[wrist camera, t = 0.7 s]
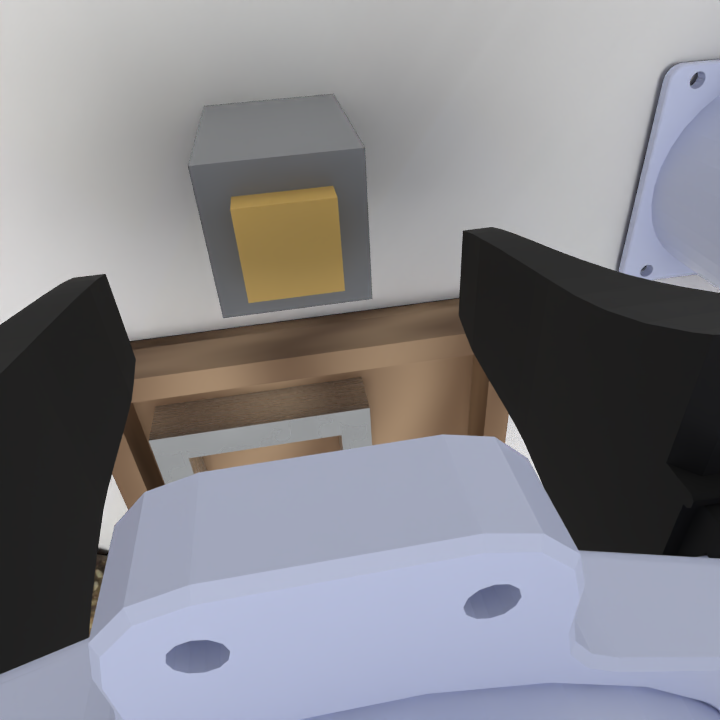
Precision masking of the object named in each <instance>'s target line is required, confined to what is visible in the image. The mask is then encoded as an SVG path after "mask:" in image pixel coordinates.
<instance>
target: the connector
mask: <svg viewBox="0 0 720 720" xmlns="http://www.w3.org/2000/svg"><path fill="white" fill-rule="evenodd" d="M188 168H189V172H190V177H191V181H192V185H193V190H194V194H195V198H196V203H197V207H198V211H199V215H200V220H201V224H202V228H203V233H204V237H205V241H206V246H207V250H208V254H209V259H210V263H211V267H212V272H213V276H214V280H215V285H216V289H217V293H218V297H219V302H220V306H221V310H222V315H223V318H228V317H236V316H243V315H251V314H259V313H267V312H274V311H282V310H290V309H297V308H305V307H313V306H321V305H328V304H336V303H344V302H351V301H359V300H367V299H372V283H371V263H370V243H369V222H368V202H367V182H366V161H365V147H364V145H363V144H362V142H361V140H360V138H359V137H358V135H357V133H356V132H355V130H354V128H353V127H352V125H351V123H350V121H349V120H348V118H347V116H346V115H345V113H344V111H343V110H342V108H341V106H340V104H339V103H338V101H337V99H336V98H335V96H334V94H326V95H316V96H305V97H294V98H284V99H273V100H263V101H252V102H242V103H231V104H220V105H210V106H204V108H203V112H202V116H201V119H200V123H199V127H198V131H197V134H196V138H195V142H194V146H193V149H192V153H191V157H190V160H189V164H188Z"/></svg>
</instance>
